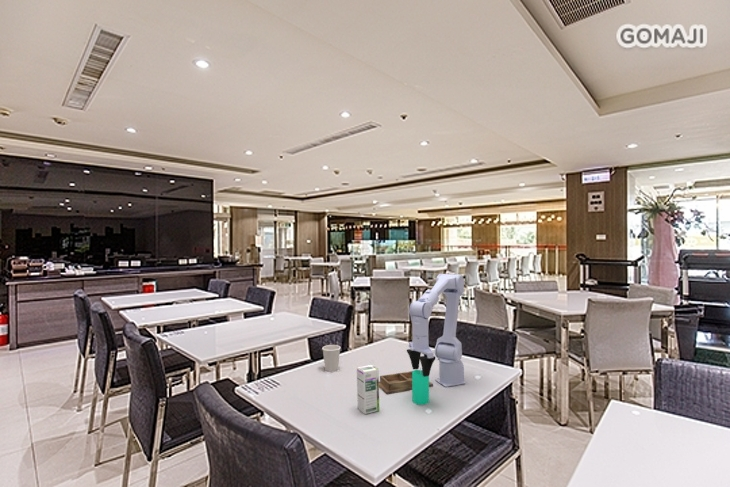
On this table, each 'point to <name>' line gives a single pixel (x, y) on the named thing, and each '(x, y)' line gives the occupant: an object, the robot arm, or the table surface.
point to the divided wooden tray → (397, 382)
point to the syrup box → (368, 389)
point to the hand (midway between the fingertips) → (420, 372)
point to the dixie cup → (331, 357)
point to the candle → (420, 388)
